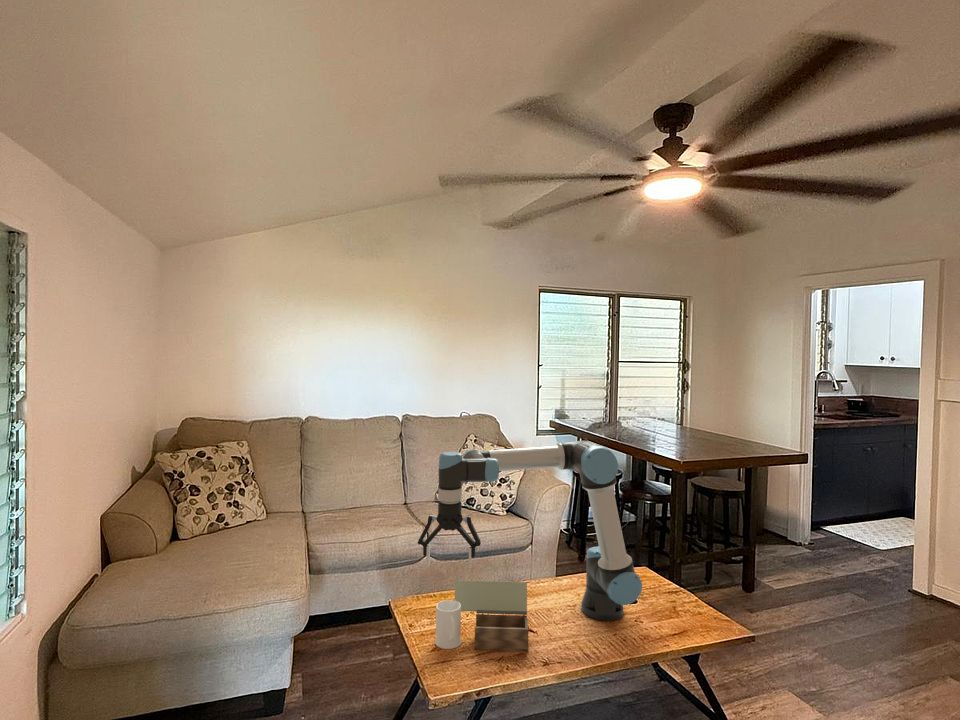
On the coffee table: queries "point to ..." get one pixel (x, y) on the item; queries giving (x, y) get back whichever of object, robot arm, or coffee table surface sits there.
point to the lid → (492, 596)
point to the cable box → (501, 632)
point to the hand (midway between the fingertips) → (449, 566)
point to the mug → (448, 624)
